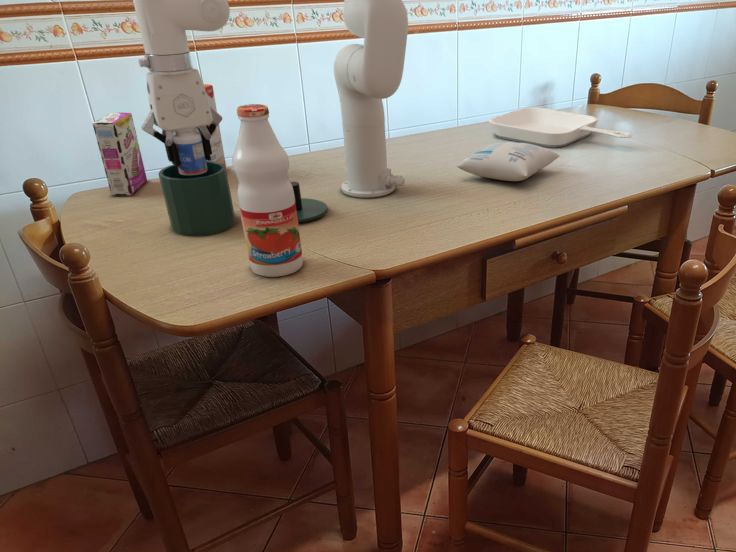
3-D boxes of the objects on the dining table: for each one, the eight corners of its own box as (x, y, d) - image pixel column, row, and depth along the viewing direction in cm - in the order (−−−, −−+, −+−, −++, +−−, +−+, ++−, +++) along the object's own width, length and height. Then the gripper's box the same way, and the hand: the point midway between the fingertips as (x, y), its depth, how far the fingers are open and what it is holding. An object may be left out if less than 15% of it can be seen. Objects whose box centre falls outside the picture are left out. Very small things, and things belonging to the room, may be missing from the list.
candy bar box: (133, 196, 152) (114, 123, 143) (111, 196, 152) (90, 123, 143) (149, 181, 162) (132, 111, 153) (128, 181, 161) (109, 111, 152)
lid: (336, 205, 148) (333, 176, 144) (312, 228, 137) (308, 196, 133) (280, 201, 150) (275, 172, 147) (251, 222, 139) (246, 191, 135)
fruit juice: (297, 253, 126) (276, 98, 111) (308, 272, 118) (287, 110, 104) (246, 261, 122) (217, 103, 108) (255, 282, 115) (225, 115, 100)
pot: (245, 216, 142) (236, 163, 136) (215, 238, 131) (204, 181, 125) (193, 212, 144) (181, 159, 138) (159, 233, 134) (145, 177, 127)
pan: (527, 120, 218) (528, 105, 216) (648, 140, 197) (650, 125, 195) (481, 136, 200) (481, 121, 197) (609, 161, 179) (611, 144, 176)
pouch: (495, 131, 174) (456, 145, 159) (561, 143, 167) (528, 160, 152) (493, 161, 179) (455, 178, 163) (558, 174, 171) (524, 193, 156)
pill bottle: (173, 174, 131) (161, 123, 125) (192, 166, 135) (181, 117, 130) (195, 177, 129) (184, 126, 124) (214, 170, 133) (203, 120, 128)
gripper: (126, 71, 114) (152, 174, 124) (223, 61, 123) (240, 158, 133) (114, 65, 119) (140, 165, 129) (208, 56, 128) (226, 150, 138)
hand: (191, 160), depth 131 cm, fingers closed on pill bottle, 5 cm apart
